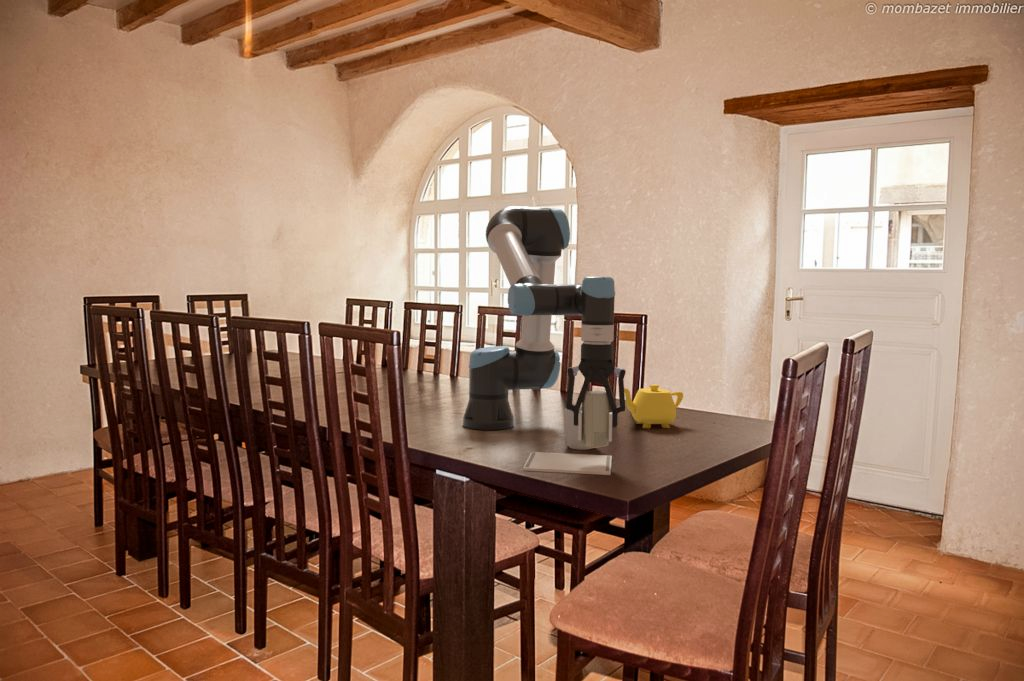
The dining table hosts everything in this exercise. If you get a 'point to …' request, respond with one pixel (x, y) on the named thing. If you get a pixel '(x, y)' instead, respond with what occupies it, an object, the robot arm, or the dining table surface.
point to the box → (595, 419)
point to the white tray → (569, 463)
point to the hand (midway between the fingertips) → (594, 439)
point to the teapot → (653, 406)
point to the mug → (572, 431)
